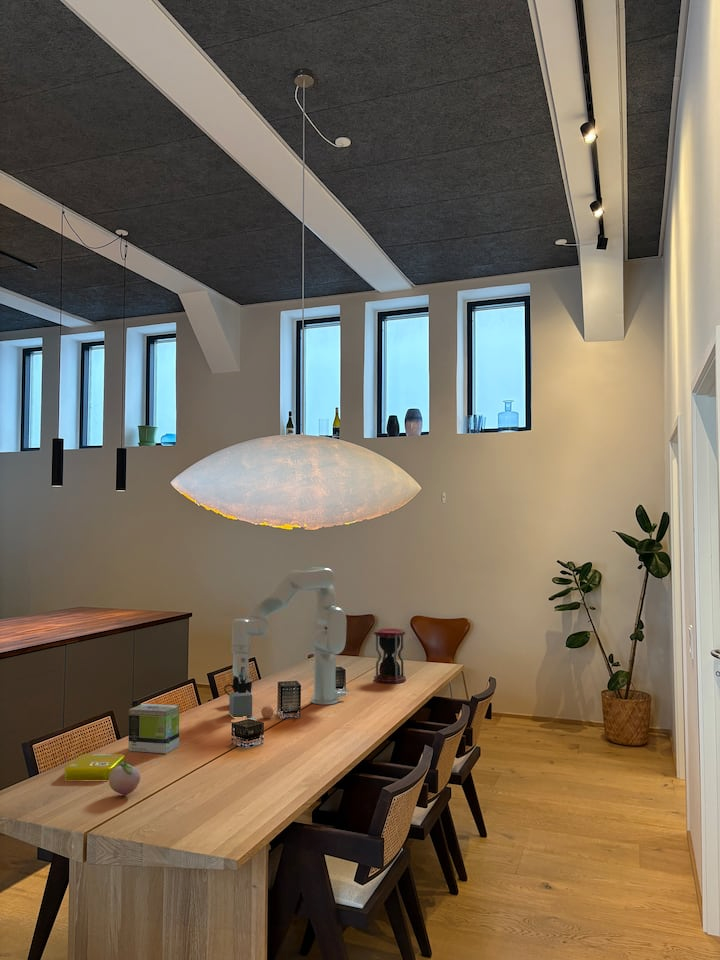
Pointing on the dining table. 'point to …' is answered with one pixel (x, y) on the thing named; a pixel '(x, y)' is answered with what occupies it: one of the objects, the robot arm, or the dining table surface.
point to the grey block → (240, 704)
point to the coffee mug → (248, 686)
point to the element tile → (93, 766)
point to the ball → (267, 711)
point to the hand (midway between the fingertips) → (239, 690)
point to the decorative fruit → (124, 778)
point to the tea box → (154, 728)
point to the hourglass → (389, 656)
